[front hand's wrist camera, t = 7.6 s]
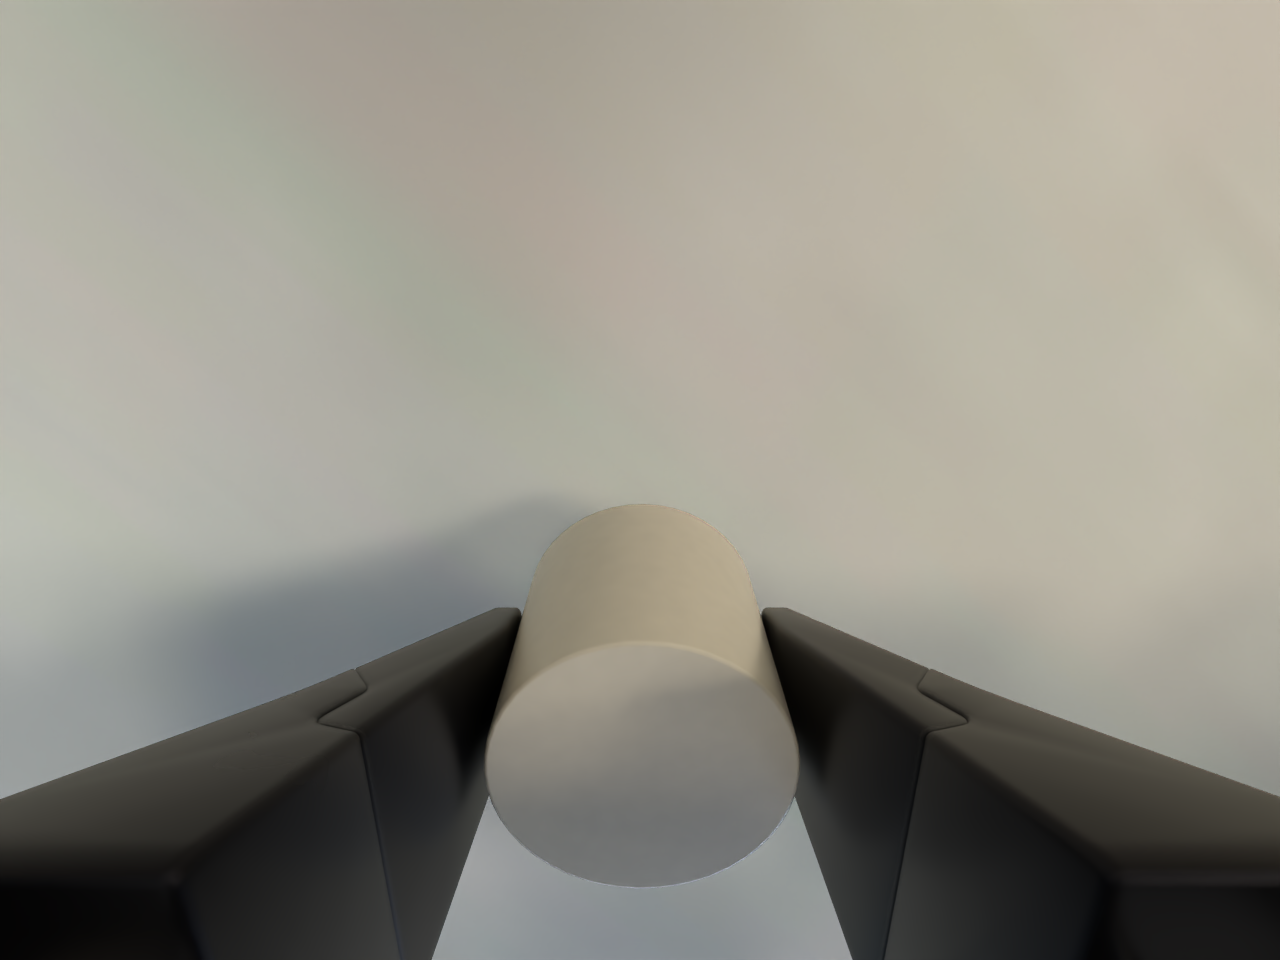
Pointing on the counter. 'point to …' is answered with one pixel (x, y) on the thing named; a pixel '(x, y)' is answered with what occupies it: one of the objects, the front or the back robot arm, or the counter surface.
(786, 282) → the counter surface
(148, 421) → the counter surface
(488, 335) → the counter surface
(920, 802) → the front robot arm
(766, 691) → the can
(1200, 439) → the counter surface
